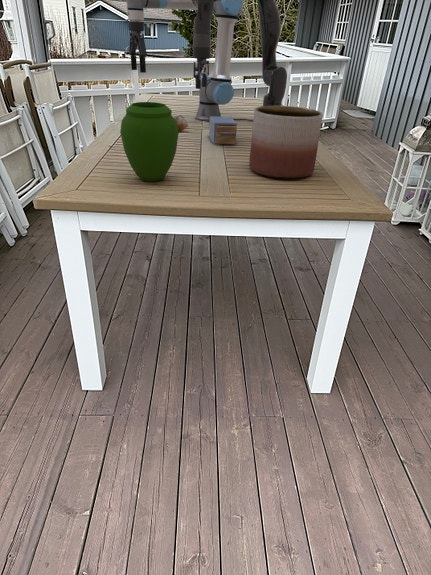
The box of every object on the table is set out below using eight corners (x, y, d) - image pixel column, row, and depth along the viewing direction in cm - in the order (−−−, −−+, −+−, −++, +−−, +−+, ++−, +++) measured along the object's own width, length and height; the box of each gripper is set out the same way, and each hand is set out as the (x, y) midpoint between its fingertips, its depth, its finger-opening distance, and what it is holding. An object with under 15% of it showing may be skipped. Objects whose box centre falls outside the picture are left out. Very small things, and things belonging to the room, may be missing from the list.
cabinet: (235, 144, 197) (236, 123, 192) (213, 144, 195) (214, 122, 190) (229, 136, 210) (230, 116, 205) (209, 136, 209) (209, 116, 204)
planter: (323, 180, 153) (335, 117, 141) (257, 181, 149) (264, 116, 137) (300, 162, 174) (309, 106, 162) (242, 162, 170) (247, 104, 158)
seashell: (187, 130, 219) (187, 114, 215) (188, 132, 214) (188, 116, 210) (169, 129, 218) (169, 113, 214) (170, 131, 213) (169, 115, 209)
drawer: (237, 146, 190) (238, 128, 186) (217, 146, 188) (218, 128, 184) (229, 136, 206) (230, 120, 202) (211, 136, 205) (212, 120, 201)
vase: (131, 189, 135) (125, 110, 122) (118, 172, 150) (112, 100, 137) (186, 184, 142) (187, 109, 129) (169, 168, 157) (167, 99, 144)
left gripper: (120, 20, 204) (123, 68, 215) (136, 21, 185) (139, 73, 196) (135, 21, 207) (137, 68, 218) (152, 22, 188) (154, 73, 200)
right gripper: (204, 46, 167) (204, 90, 176) (215, 45, 179) (214, 86, 188) (187, 45, 169) (187, 88, 178) (199, 44, 181) (198, 85, 189)
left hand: (138, 71), depth 207 cm, fingers open, 13 cm apart
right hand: (201, 87), depth 183 cm, fingers open, 8 cm apart
